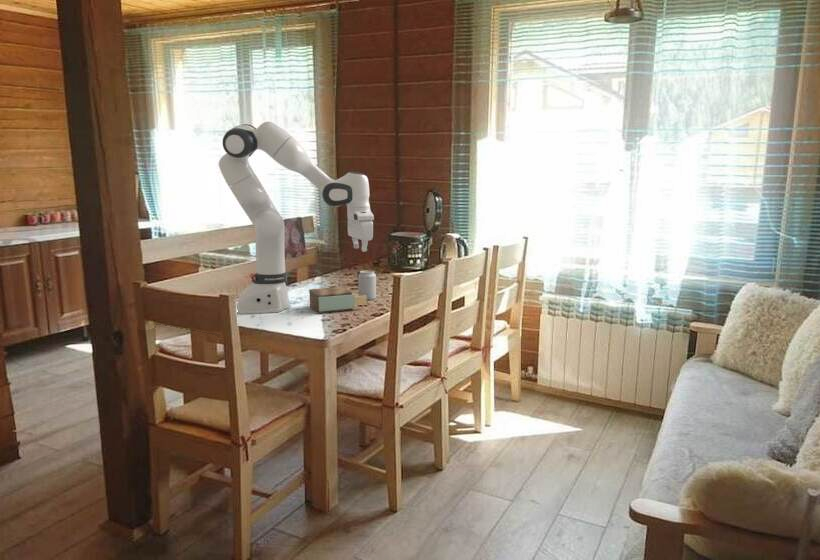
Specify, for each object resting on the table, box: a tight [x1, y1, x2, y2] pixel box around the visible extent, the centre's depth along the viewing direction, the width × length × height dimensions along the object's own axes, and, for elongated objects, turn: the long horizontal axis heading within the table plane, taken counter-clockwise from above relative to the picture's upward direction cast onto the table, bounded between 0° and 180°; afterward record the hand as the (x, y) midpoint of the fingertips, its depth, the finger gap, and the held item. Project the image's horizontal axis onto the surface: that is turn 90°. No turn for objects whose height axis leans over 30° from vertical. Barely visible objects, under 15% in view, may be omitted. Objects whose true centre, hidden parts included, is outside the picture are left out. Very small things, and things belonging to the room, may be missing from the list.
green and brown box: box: [308, 286, 353, 314], centre depth 248 cm, size 14×12×7 cm
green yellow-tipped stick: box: [318, 294, 368, 311], centre depth 243 cm, size 19×1×5 cm, turn 113°
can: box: [357, 270, 377, 301], centre depth 265 cm, size 8×8×12 cm
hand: (360, 249), depth 245 cm, fingers open, 8 cm apart
